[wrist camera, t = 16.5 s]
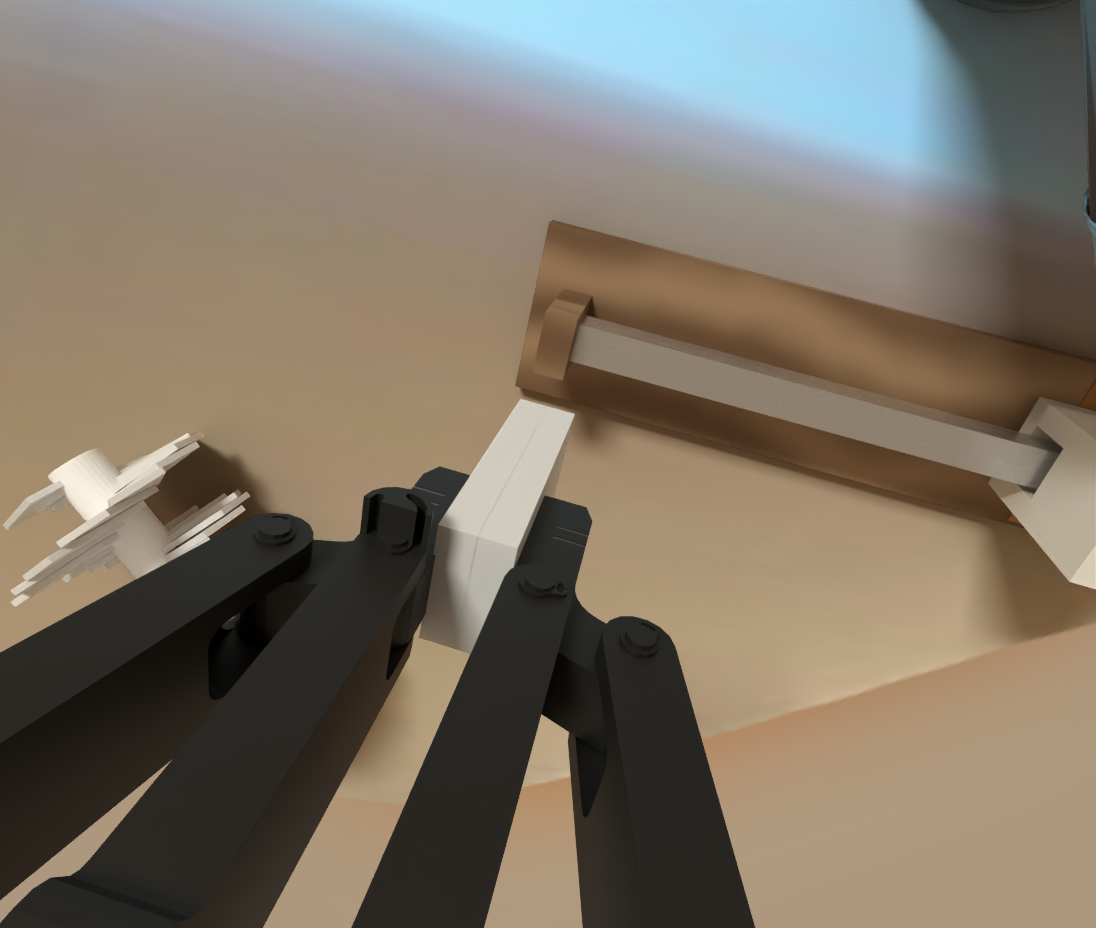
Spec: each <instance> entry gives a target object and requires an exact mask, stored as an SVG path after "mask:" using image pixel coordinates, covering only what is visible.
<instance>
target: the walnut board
mask: <svg viewBox="0 0 1096 928" xmlns="http://www.w3.org/2000/svg"><path fill="white" fill-rule="evenodd" d="M584 315H587V316H590V317H594V318H598V319H601V320H605V321H609V322H613V323H616V324H620V325H624V326H627V327H631V328H635V329H639V330H642V331H646V332H650V333H653V334H657V335H661V336H665V337H668V338H672V339H676V340H679V341H683V342H687V343H691V344H694V345H698V346H702V347H705V348H709V349H713V350H717V351H720V352H724V353H728V354H731V355H735V356H739V357H743V358H746V359H750V360H754V361H757V362H761V363H765V364H769V365H772V366H776V367H780V368H783V369H787V370H791V371H795V372H798V373H802V374H806V375H810V376H813V377H817V378H821V379H824V380H828V381H832V382H836V383H839V384H843V385H847V386H850V387H854V388H858V389H862V390H865V391H869V392H873V393H876V394H880V395H884V396H888V397H891V398H895V399H899V400H902V401H906V402H910V403H914V404H917V405H921V406H925V407H928V408H932V409H936V410H940V411H943V412H947V413H951V414H954V415H958V416H962V417H966V418H969V419H973V420H977V421H980V422H984V423H988V424H992V425H995V426H999V427H1003V428H1006V429H1010V430H1014V431H1018V432H1019V431H1020V429H1021V427H1022V426H1023V424H1024V422H1025V421H1026V419H1027V417H1028V416H1029V414H1030V412H1031V411H1032V409H1033V407H1034V406H1035V404H1036V402H1037V401H1038V399H1039V397H1043V398H1047V399H1051V400H1055V401H1059V402H1062V403H1066V404H1070V405H1074V406H1077V407H1081V408H1085V409H1089V410H1093V411H1096V361H1093V360H1089V359H1085V358H1081V357H1078V356H1074V355H1070V354H1066V353H1062V352H1058V351H1055V350H1051V349H1047V348H1043V347H1039V346H1035V345H1031V344H1028V343H1024V342H1020V341H1016V340H1012V339H1008V338H1004V337H1001V336H997V335H993V334H989V333H985V332H981V331H977V330H974V329H970V328H966V327H962V326H958V325H954V324H950V323H947V322H943V321H939V320H935V319H931V318H927V317H924V316H920V315H916V314H912V313H908V312H904V311H900V310H897V309H893V308H889V307H885V306H881V305H877V304H873V303H870V302H866V301H862V300H858V299H854V298H850V297H846V296H843V295H839V294H835V293H831V292H827V291H823V290H820V289H816V288H812V287H808V286H804V285H800V284H796V283H793V282H789V281H785V280H781V279H777V278H773V277H769V276H766V275H762V274H758V273H754V272H750V271H746V270H742V269H739V268H735V267H731V266H727V265H723V264H719V263H715V262H712V261H708V260H704V259H700V258H696V257H692V256H689V255H685V254H681V253H677V252H673V251H669V250H665V249H662V248H658V247H654V246H650V245H646V244H642V243H638V242H635V241H631V240H627V239H623V238H619V237H615V236H611V235H608V234H604V233H600V232H596V231H592V230H588V229H585V228H581V227H577V226H573V225H569V224H565V223H561V222H558V221H554V220H552V221H550V222H549V226H548V231H547V235H546V240H545V245H544V250H543V255H542V260H541V264H540V269H539V274H538V279H537V284H536V288H535V293H534V298H533V303H532V308H531V313H530V317H529V322H528V327H527V332H526V337H525V341H524V346H523V351H522V356H521V361H520V366H519V370H518V375H517V380H516V385H515V386H517V387H520V388H524V389H528V390H531V391H535V392H538V393H542V394H545V395H549V396H553V397H556V398H560V399H563V400H567V401H571V402H574V403H578V404H581V405H585V406H588V407H592V408H596V409H599V410H603V411H606V412H610V413H614V414H617V415H621V416H624V417H628V418H632V419H635V420H639V421H642V422H646V423H649V424H653V425H657V426H660V427H664V428H667V429H671V430H675V431H678V432H682V433H685V434H689V435H692V436H696V437H700V438H703V439H707V440H710V441H714V442H718V443H721V444H725V445H728V446H732V447H735V448H739V449H743V450H746V451H750V452H753V453H757V454H761V455H764V456H768V457H771V458H775V459H778V460H782V461H786V462H789V463H793V464H796V465H800V466H804V467H807V468H811V469H814V470H818V471H821V472H825V473H829V474H832V475H836V476H839V477H843V478H847V479H850V480H854V481H857V482H861V483H864V484H868V485H872V486H875V487H879V488H882V489H886V490H890V491H893V492H897V493H900V494H904V495H907V496H911V497H915V498H918V499H922V500H925V501H929V502H933V503H936V504H940V505H943V506H947V507H950V508H954V509H958V510H961V511H965V512H968V513H972V514H976V515H979V516H983V517H986V518H990V519H993V520H997V521H1001V522H1004V523H1008V524H1011V525H1015V526H1019V527H1022V528H1024V526H1023V525H1022V524H1021V523H1020V522H1019V520H1018V519H1017V518H1016V517H1015V516H1014V514H1013V513H1012V512H1011V511H1010V509H1009V508H1008V507H1007V506H1006V505H1005V503H1004V502H1003V501H1002V500H1001V499H1000V497H999V496H998V495H997V494H996V493H995V491H994V490H993V489H992V488H991V487H990V485H989V484H988V483H989V481H990V479H991V478H992V477H990V476H987V475H983V474H979V473H976V472H972V471H968V470H965V469H961V468H957V467H954V466H950V465H946V464H943V463H939V462H936V461H932V460H928V459H925V458H921V457H917V456H914V455H910V454H906V453H903V452H899V451H895V450H892V449H888V448H885V447H881V446H877V445H874V444H870V443H866V442H863V441H859V440H855V439H852V438H848V437H844V436H841V435H837V434H834V433H830V432H826V431H823V430H819V429H815V428H812V427H808V426H804V425H801V424H797V423H794V422H790V421H786V420H783V419H779V418H775V417H772V416H768V415H764V414H761V413H757V412H753V411H750V410H746V409H743V408H739V407H735V406H732V405H728V404H724V403H721V402H717V401H713V400H710V399H706V398H702V397H699V396H695V395H692V394H688V393H684V392H681V391H677V390H673V389H670V388H666V387H662V386H659V385H655V384H651V383H648V382H644V381H641V380H637V379H633V378H630V377H626V376H622V375H619V374H615V373H611V372H608V371H604V370H601V369H597V368H593V367H590V366H586V365H582V364H579V363H575V362H571V361H570V359H571V355H572V351H573V347H574V342H575V338H576V334H577V330H578V326H579V323H580V322H581V320H582V318H583V317H584Z"/></svg>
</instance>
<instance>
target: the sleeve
mask: <svg viewBox="0 0 1096 928" xmlns="http://www.w3.org/2000/svg"><path fill="white" fill-rule="evenodd" d="M1019 432H1021V433H1025V434H1029V435H1032V436H1036V437H1040V438H1044V439H1047V440H1051V441H1055V442H1057V443H1058V444H1059V445H1060V446H1061V447H1062V448H1064V449H1063V450H1062V452H1061V453H1060V455H1059V456H1058V458H1057V459H1056V461H1055V463H1054V464H1053V466H1052V467H1051V469H1050V470H1049V472H1048V474H1047V475H1046V477H1045V478H1044V480H1043V481H1042V483H1041V485H1040V486H1039V488H1038V489H1034V488H1030V487H1027V486H1023V485H1019V484H1016V483H1012V482H1008V481H1005V480H1001V479H997V478H994V477H992V478H991V479H990V481H989V483H988V484H989V485H990V487H991V488H992V489H993V490H994V491H995V493H996V494H997V495H998V496H999V497H1000V499H1001V500H1002V501H1003V502H1004V503H1005V505H1006V506H1007V507H1008V508H1009V509H1010V511H1011V512H1012V513H1013V514H1014V516H1015V517H1016V518H1017V519H1018V520H1019V522H1020V523H1021V524H1022V525H1023V526H1024V528H1025V529H1026V530H1027V531H1028V532H1029V534H1030V535H1031V536H1032V537H1033V538H1034V540H1035V541H1036V542H1037V543H1038V545H1039V546H1040V547H1041V548H1042V549H1043V551H1044V552H1045V553H1046V554H1047V555H1048V557H1049V558H1050V559H1051V560H1052V561H1053V563H1054V564H1055V565H1056V566H1057V567H1058V569H1059V570H1060V571H1061V572H1062V574H1063V575H1064V576H1065V577H1066V578H1067V580H1068V581H1069V582H1072V583H1075V584H1079V585H1082V586H1086V587H1089V588H1093V589H1096V411H1093V410H1089V409H1085V408H1081V407H1077V406H1074V405H1070V404H1066V403H1062V402H1059V401H1055V400H1051V399H1047V398H1043V397H1039V399H1038V401H1037V402H1036V404H1035V406H1034V407H1033V409H1032V411H1031V412H1030V414H1029V416H1028V417H1027V419H1026V421H1025V422H1024V424H1023V426H1022V427H1021V429H1020V431H1019Z"/></svg>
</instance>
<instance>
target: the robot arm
mask: <svg viewBox="0 0 1096 928" xmlns="http://www.w3.org/2000/svg"><path fill="white" fill-rule="evenodd" d="M959 1H961V2H963V3H965V4H968V5H971V6H974V7H977V8H981V9H985V10H991V11H1000V12H1021V11H1031V10H1037V9H1042V8H1047V7H1051V6H1054V5H1058V4H1061V3H1064V2H1067V1H1070V0H959ZM1080 19H1081V40H1082V60H1083V81H1084V102H1085V123H1086V143H1087V164H1088V185H1089V188H1088V189H1087V191H1086V193H1085V196H1084V201H1083V214H1084V218H1086V221H1087V227H1088V229H1089V230H1090V232H1091V233H1092V242H1093V251H1094V261H1095V270H1096V0H1080ZM574 416H575V414H572V413H569V412H565V411H562V410H558V409H554V408H551V407H547V406H544V405H540V404H537V403H533V402H529V401H526V400H522V399H520V400H519V402H518V403H517V405H516V407H515V408H514V410H513V411H512V413H511V414H510V416H509V417H508V419H507V420H506V422H505V423H504V425H503V426H502V428H501V429H500V431H499V433H498V434H497V436H496V437H495V439H494V440H493V442H492V443H491V445H490V446H489V448H488V449H487V451H486V452H485V454H484V455H483V457H482V459H481V460H480V462H479V463H478V465H477V466H476V468H475V469H474V471H473V472H472V474H471V475H467V474H464V473H460V472H457V471H453V470H450V469H446V468H443V467H438V468H435V469H433V470H431V471H429V472H427V473H424V474H423V475H422V476H421V478H420V479H419V480H418V481H417V483H416V484H415V486H414V487H413V488H412V489H411V490H410V489H405V488H399V487H386V488H380V489H377V490H373V491H371V492H370V493H368V494H367V495H365V496H364V501H363V510H362V520H361V529H360V534H359V535H358V536H357V537H356V539H355V540H354V541H348V542H335V541H323V540H313V531H312V529H311V526H310V525H309V524H308V523H307V522H305V521H304V520H302V519H301V518H298V517H295V516H292V515H289V514H278V513H271V514H263V515H258V516H255V517H253V518H250V519H247V520H245V521H244V522H242V523H240V524H238V525H236V526H234V527H232V528H231V529H229V530H227V531H225V532H223V533H221V534H219V535H218V536H216V537H214V538H212V539H210V540H208V541H206V542H205V543H203V544H201V545H199V546H197V547H195V548H193V549H192V550H190V551H188V552H186V553H184V554H182V555H180V556H179V557H177V558H175V559H173V560H171V561H169V562H167V563H166V564H164V565H162V566H160V567H158V568H156V569H154V570H153V571H151V572H149V573H147V574H145V575H143V576H141V577H140V578H138V579H136V580H134V581H132V582H130V583H128V584H127V585H125V586H123V587H121V588H119V589H117V590H115V591H114V592H112V593H110V594H108V595H106V596H104V597H102V598H101V599H99V600H97V601H95V602H93V603H91V604H90V605H88V606H86V607H84V608H82V609H80V610H78V611H77V612H75V613H73V614H71V615H69V616H67V617H65V618H64V619H62V620H60V621H58V622H56V623H54V624H52V625H51V626H49V627H47V628H45V629H43V630H41V631H39V632H38V633H36V634H34V635H32V636H30V637H28V638H26V639H25V640H23V641H21V642H19V643H17V644H15V645H13V646H12V647H10V648H8V649H6V650H4V651H2V652H0V900H1V899H2V898H3V897H5V896H6V895H7V894H8V893H9V892H11V891H12V890H13V889H14V888H16V887H17V886H18V885H19V884H21V882H23V881H24V880H25V879H26V878H28V877H29V876H30V875H32V874H33V873H34V872H35V871H36V870H38V869H39V868H40V867H41V866H43V865H44V864H45V863H46V862H47V861H49V860H50V859H51V858H52V857H53V856H55V855H56V854H57V853H58V852H60V851H61V850H62V849H63V848H65V847H66V846H67V845H68V844H69V843H70V842H72V841H73V840H74V839H75V838H76V837H78V836H79V835H80V834H82V833H83V832H84V831H85V830H86V829H88V828H89V827H90V826H91V825H93V824H94V823H95V822H96V821H97V820H99V819H100V818H101V817H102V816H104V815H105V814H106V813H107V812H108V811H110V810H111V809H112V808H113V807H114V806H116V805H117V804H118V803H119V802H120V801H122V800H123V799H124V798H125V797H127V796H128V795H129V794H130V793H132V792H133V791H134V790H135V789H136V788H138V787H139V786H140V785H141V784H142V783H144V782H145V781H146V780H148V779H149V778H150V777H151V776H152V775H154V774H155V773H156V772H157V771H158V770H160V769H161V768H162V767H163V766H165V765H166V764H167V763H168V762H169V761H171V760H172V761H171V762H170V763H169V764H168V765H167V767H166V768H165V769H164V770H163V772H162V773H161V774H160V775H159V776H158V778H157V779H156V780H155V781H154V782H153V784H152V785H151V786H150V787H149V788H148V790H147V791H146V792H145V793H144V795H143V796H142V797H141V798H140V799H139V800H138V802H137V803H136V804H135V805H134V807H133V808H132V809H131V810H130V811H129V813H128V814H127V815H126V816H125V817H124V819H123V820H122V821H121V822H120V824H119V825H118V826H117V827H116V828H115V829H114V831H113V832H112V833H111V834H110V836H109V837H108V838H107V839H106V840H105V842H104V843H103V844H102V845H101V847H100V848H99V849H98V850H97V851H96V852H95V854H94V855H93V856H92V857H91V859H90V860H89V861H88V862H87V863H86V864H85V865H84V866H83V867H82V868H81V869H80V870H79V871H77V872H75V873H74V874H72V875H71V876H64V877H54V878H50V879H48V880H46V881H45V882H43V883H41V884H40V885H39V886H37V887H35V888H34V889H32V890H31V891H30V892H29V893H28V894H27V895H26V896H25V897H24V898H23V899H22V900H21V901H20V902H19V903H18V904H17V905H16V906H15V907H14V908H13V909H12V911H10V912H9V914H8V915H7V916H6V917H5V918H4V919H3V921H2V922H1V923H0V928H263V926H264V924H265V922H266V921H267V919H268V917H269V915H270V913H271V911H272V909H273V908H274V906H275V904H276V902H277V900H278V898H279V896H280V895H281V893H282V891H283V889H284V887H285V885H286V883H287V882H288V880H289V878H290V876H291V874H292V872H293V871H294V868H295V867H296V865H297V863H298V861H299V860H300V857H301V856H302V854H303V852H304V850H305V848H306V847H307V845H308V843H309V841H310V839H311V837H312V835H313V834H314V832H315V830H316V828H317V826H318V824H319V822H320V821H321V819H322V817H323V815H324V813H325V811H326V810H327V808H328V806H329V804H330V802H331V800H332V799H333V797H334V795H335V793H336V791H337V789H338V787H339V786H340V784H341V782H342V780H343V778H344V776H345V774H346V773H347V771H348V769H349V767H350V765H351V763H352V762H353V760H354V758H355V756H356V754H357V752H358V750H359V749H360V747H361V745H362V743H363V741H364V739H365V737H366V736H367V734H368V732H369V730H370V728H371V726H372V725H373V723H374V721H375V719H376V717H377V715H378V713H379V712H380V710H381V708H382V706H383V704H384V702H385V700H386V699H387V697H388V695H389V693H390V691H391V689H392V688H393V686H394V684H395V682H396V680H397V678H398V676H399V675H400V673H401V671H402V669H403V667H404V665H405V663H406V662H407V660H408V658H409V656H410V652H411V648H412V642H413V636H414V633H415V632H416V630H417V628H418V626H419V624H420V623H421V621H422V624H421V630H420V636H419V638H422V639H425V640H428V641H432V642H435V643H438V644H441V645H445V646H448V647H451V648H454V649H457V650H461V651H464V652H467V653H470V657H469V659H468V661H467V663H466V666H465V668H464V670H463V673H462V675H461V677H460V680H459V682H458V684H457V686H456V689H455V691H454V693H453V696H452V698H451V700H450V702H449V705H448V707H447V709H446V712H445V714H444V716H443V719H442V721H441V723H440V725H439V728H438V730H437V732H436V735H435V737H434V739H433V742H432V744H431V746H430V748H429V751H428V753H427V755H426V758H425V760H424V762H423V765H422V767H421V769H420V771H419V774H418V776H417V778H416V781H415V783H414V785H413V788H412V790H411V792H410V794H409V797H408V799H407V801H406V804H405V806H404V808H403V810H402V813H401V815H400V817H399V820H398V822H397V824H396V827H395V829H394V831H393V833H392V836H391V838H390V840H389V843H388V845H387V847H386V850H385V852H384V854H383V857H382V859H381V861H380V863H379V866H378V868H377V870H376V873H375V875H374V878H373V879H372V882H371V884H370V886H369V889H368V891H367V893H366V896H365V898H364V900H363V902H362V905H361V907H360V909H359V912H358V914H357V916H356V918H355V921H354V923H353V926H352V928H484V925H485V921H486V918H487V914H488V910H489V907H490V903H491V899H492V895H493V892H494V888H495V884H496V880H497V877H498V873H499V869H500V865H501V862H502V858H503V854H504V851H505V847H506V843H507V840H508V836H509V832H510V828H511V825H512V821H513V817H514V814H515V810H516V806H517V803H518V799H519V795H520V791H521V788H522V784H523V780H524V777H525V773H526V769H527V765H528V762H529V758H530V754H531V750H532V747H533V743H534V739H535V736H536V732H537V728H538V724H539V721H540V717H541V714H542V715H544V716H545V717H547V718H548V719H550V720H551V721H553V722H555V723H556V724H558V725H559V726H561V727H562V728H564V729H565V730H567V731H568V732H569V737H568V748H569V760H570V773H571V785H572V798H573V811H574V823H575V836H576V848H577V861H578V873H579V886H580V897H581V898H580V899H581V911H582V924H583V928H755V926H754V922H753V919H752V915H751V912H750V908H749V905H748V901H747V898H746V894H745V891H744V887H743V883H742V880H741V876H740V873H739V869H738V866H737V862H736V859H735V855H734V852H733V848H732V845H731V841H730V838H729V834H728V831H727V827H726V824H725V820H724V817H723V813H722V810H721V806H720V803H719V799H718V795H717V792H716V789H715V785H714V781H713V778H712V775H711V771H710V767H709V764H708V760H707V757H706V753H705V750H704V746H703V743H702V739H701V736H700V732H699V729H698V725H697V722H696V718H695V715H694V711H693V707H692V704H691V700H690V697H689V693H688V690H687V686H686V683H685V679H684V676H683V672H682V669H681V665H680V662H679V658H678V655H677V651H676V648H675V646H674V644H673V642H672V640H671V638H670V636H669V635H668V634H666V633H665V632H664V631H663V630H662V629H661V628H660V627H659V626H657V625H655V624H653V623H651V622H649V621H648V620H644V619H641V618H637V617H633V616H620V617H618V618H615V619H612V620H610V621H609V622H608V623H607V624H606V623H604V622H602V621H601V620H599V619H597V618H596V617H594V616H593V615H591V614H590V613H589V612H588V611H586V610H585V609H584V608H583V607H582V605H581V604H580V602H579V601H578V599H577V597H576V593H575V584H576V581H577V577H578V573H579V569H580V566H581V562H582V558H583V554H584V550H585V547H586V543H587V539H588V535H589V532H590V528H591V524H592V520H591V517H590V515H589V512H588V510H587V508H586V507H583V506H580V505H576V504H573V503H569V502H566V501H562V500H559V499H555V498H554V494H555V490H556V486H557V482H558V478H559V475H560V471H561V467H562V463H563V459H564V455H565V451H566V447H567V443H568V440H569V436H570V432H571V428H572V424H573V420H574ZM234 616H235V617H234ZM231 618H232V619H231ZM228 620H229V621H228Z"/></svg>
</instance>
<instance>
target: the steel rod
mask: <svg viewBox="0 0 1096 928" xmlns="http://www.w3.org/2000/svg"><path fill="white" fill-rule="evenodd" d="M570 361H571V362H575V363H579V364H582V365H586V366H590V367H593V368H597V369H601V370H604V371H608V372H611V373H615V374H619V375H622V376H626V377H630V378H633V379H637V380H641V381H644V382H648V383H651V384H655V385H659V386H662V387H666V388H670V389H673V390H677V391H681V392H684V393H688V394H692V395H695V396H699V397H702V398H706V399H710V400H713V401H717V402H721V403H724V404H728V405H732V406H735V407H739V408H743V409H746V410H750V411H753V412H757V413H761V414H764V415H768V416H772V417H775V418H779V419H783V420H786V421H790V422H794V423H797V424H801V425H804V426H808V427H812V428H815V429H819V430H823V431H826V432H830V433H834V434H837V435H841V436H844V437H848V438H852V439H855V440H859V441H863V442H866V443H870V444H874V445H877V446H881V447H885V448H888V449H892V450H895V451H899V452H903V453H906V454H910V455H914V456H917V457H921V458H925V459H928V460H932V461H936V462H939V463H943V464H946V465H950V466H954V467H957V468H961V469H965V470H968V471H972V472H976V473H979V474H983V475H987V476H990V477H994V478H997V479H1001V480H1005V481H1008V482H1012V483H1016V484H1019V485H1023V486H1027V487H1030V488H1034V489H1038V488H1039V486H1040V485H1041V483H1042V481H1043V480H1044V478H1045V477H1046V475H1047V474H1048V472H1049V470H1050V469H1051V467H1052V466H1053V464H1054V463H1055V461H1056V459H1057V458H1058V456H1059V455H1060V453H1061V452H1062V450H1063V449H1064V448H1062V447H1061V446H1060V445H1059V444H1058V443H1057V442H1055V441H1051V440H1047V439H1044V438H1040V437H1036V436H1032V435H1029V434H1025V433H1021V432H1018V431H1014V430H1010V429H1006V428H1003V427H999V426H995V425H992V424H988V423H984V422H980V421H977V420H973V419H969V418H966V417H962V416H958V415H954V414H951V413H947V412H943V411H940V410H936V409H932V408H928V407H925V406H921V405H917V404H914V403H910V402H906V401H902V400H899V399H895V398H891V397H888V396H884V395H880V394H876V393H873V392H869V391H865V390H862V389H858V388H854V387H850V386H847V385H843V384H839V383H836V382H832V381H828V380H824V379H821V378H817V377H813V376H810V375H806V374H802V373H798V372H795V371H791V370H787V369H783V368H780V367H776V366H772V365H769V364H765V363H761V362H757V361H754V360H750V359H746V358H743V357H739V356H735V355H731V354H728V353H724V352H720V351H717V350H713V349H709V348H705V347H702V346H698V345H694V344H691V343H687V342H683V341H679V340H676V339H672V338H668V337H665V336H661V335H657V334H653V333H650V332H646V331H642V330H639V329H635V328H631V327H627V326H624V325H620V324H616V323H613V322H609V321H605V320H601V319H598V318H594V317H590V316H587V315H584V317H583V318H582V320H581V322H580V323H579V326H578V330H577V334H576V338H575V342H574V347H573V351H572V355H571V359H570Z"/></svg>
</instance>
